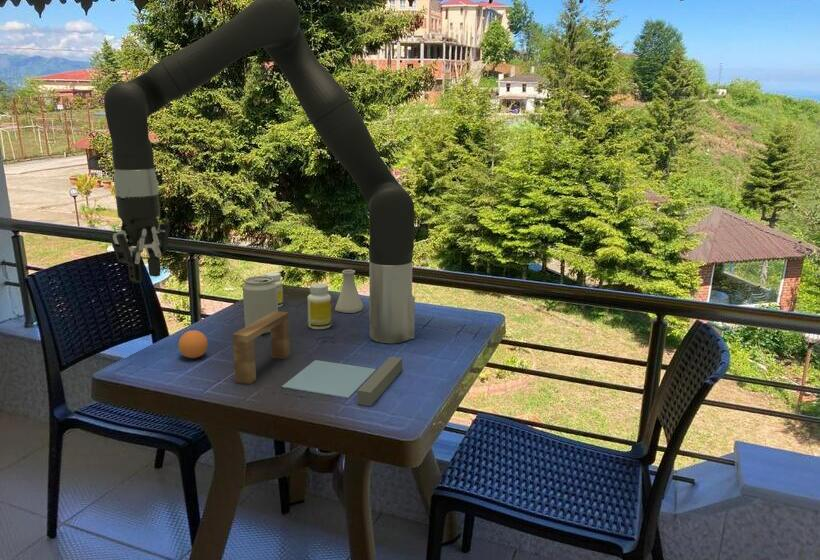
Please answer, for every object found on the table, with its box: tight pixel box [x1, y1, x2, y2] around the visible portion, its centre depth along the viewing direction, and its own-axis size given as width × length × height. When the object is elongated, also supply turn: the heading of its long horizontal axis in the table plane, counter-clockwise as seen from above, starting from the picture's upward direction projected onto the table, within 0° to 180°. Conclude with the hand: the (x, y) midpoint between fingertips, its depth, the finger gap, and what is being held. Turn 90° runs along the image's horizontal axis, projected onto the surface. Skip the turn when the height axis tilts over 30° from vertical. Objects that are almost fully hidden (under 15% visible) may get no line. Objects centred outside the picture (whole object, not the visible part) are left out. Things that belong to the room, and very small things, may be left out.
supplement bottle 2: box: [306, 282, 333, 330], centre depth 139 cm, size 5×5×10 cm
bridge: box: [232, 310, 291, 385], centre depth 115 cm, size 3×14×9 cm, turn 161°
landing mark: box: [281, 359, 377, 399], centre depth 112 cm, size 13×13×1 cm
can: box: [242, 275, 279, 335], centre depth 136 cm, size 8×8×12 cm
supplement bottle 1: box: [263, 271, 284, 308], centre depth 154 cm, size 5×5×8 cm
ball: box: [178, 330, 209, 359], centre depth 121 cm, size 6×6×6 cm
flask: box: [334, 269, 364, 314], centre depth 152 cm, size 7×7×10 cm
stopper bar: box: [356, 356, 403, 407], centre depth 109 cm, size 2×16×2 cm, turn 162°
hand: (145, 278), depth 120 cm, fingers open, 4 cm apart
